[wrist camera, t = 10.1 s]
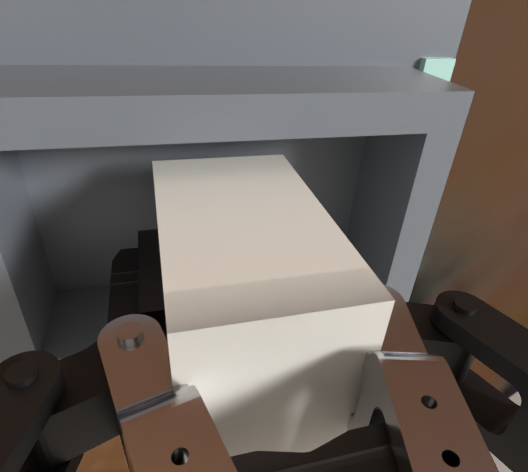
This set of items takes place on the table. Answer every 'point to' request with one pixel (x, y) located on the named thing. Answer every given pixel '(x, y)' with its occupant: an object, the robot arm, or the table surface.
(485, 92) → the table surface
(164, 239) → the block
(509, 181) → the table surface
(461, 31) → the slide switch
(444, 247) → the table surface
